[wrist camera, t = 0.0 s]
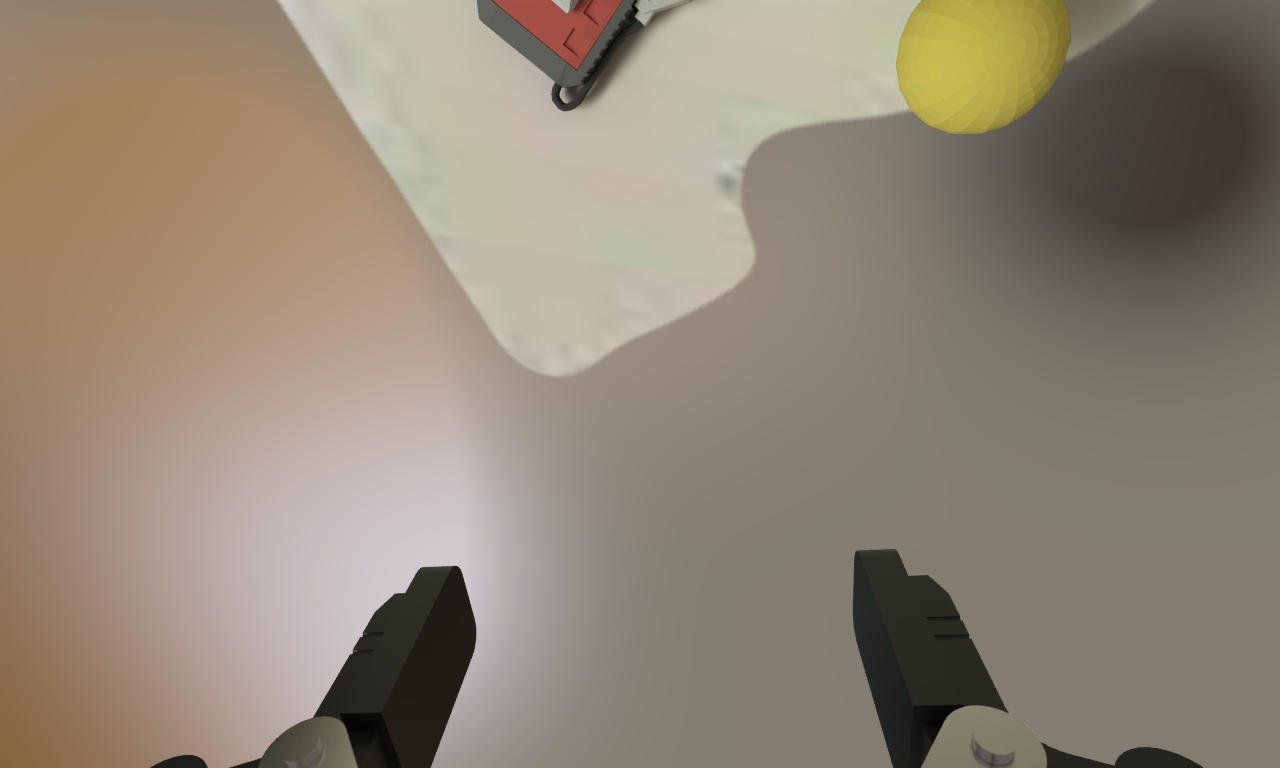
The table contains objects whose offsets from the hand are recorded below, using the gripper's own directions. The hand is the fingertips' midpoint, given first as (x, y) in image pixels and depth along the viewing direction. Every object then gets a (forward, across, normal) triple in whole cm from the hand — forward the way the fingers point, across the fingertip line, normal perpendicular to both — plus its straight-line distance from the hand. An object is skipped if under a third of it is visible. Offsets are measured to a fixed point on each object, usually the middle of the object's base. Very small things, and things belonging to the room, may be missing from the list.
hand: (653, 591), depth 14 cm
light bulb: (+30, -14, -9) cm, 34 cm away
